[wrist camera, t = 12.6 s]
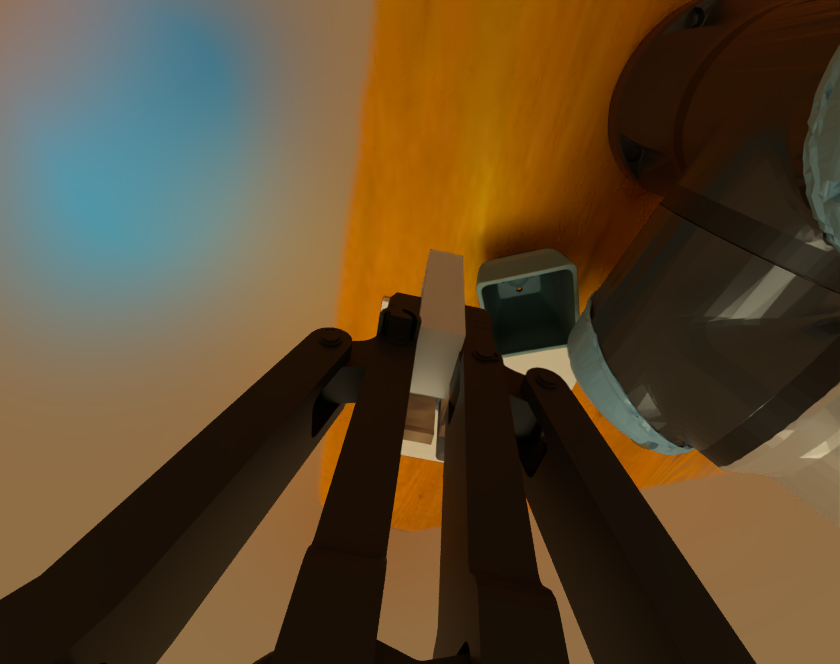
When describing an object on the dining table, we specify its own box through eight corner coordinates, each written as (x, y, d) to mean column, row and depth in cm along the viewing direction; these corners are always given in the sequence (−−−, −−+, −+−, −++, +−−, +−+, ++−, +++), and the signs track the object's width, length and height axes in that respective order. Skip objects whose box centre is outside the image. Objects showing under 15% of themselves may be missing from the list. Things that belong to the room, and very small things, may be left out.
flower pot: (561, 302, 45) (582, 346, 38) (485, 316, 47) (491, 361, 39) (554, 229, 41) (577, 263, 33) (471, 248, 43) (474, 284, 35)
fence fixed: (451, 400, 53) (450, 452, 46) (448, 409, 54) (447, 462, 47) (375, 385, 53) (361, 435, 45) (373, 394, 54) (360, 446, 46)
